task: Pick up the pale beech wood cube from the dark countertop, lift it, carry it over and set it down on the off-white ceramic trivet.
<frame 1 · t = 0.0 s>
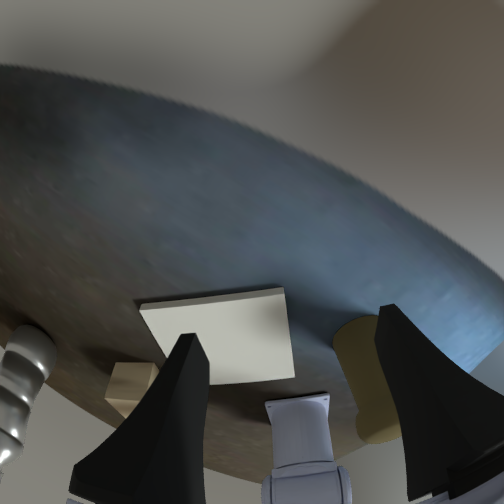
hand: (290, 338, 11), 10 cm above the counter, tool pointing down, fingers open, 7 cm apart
cube: (143, 374, 30), on the counter
trivet: (225, 343, 26), on the counter
plastic bottle: (40, 335, 28), on the counter
cork: (361, 335, 27), on the counter
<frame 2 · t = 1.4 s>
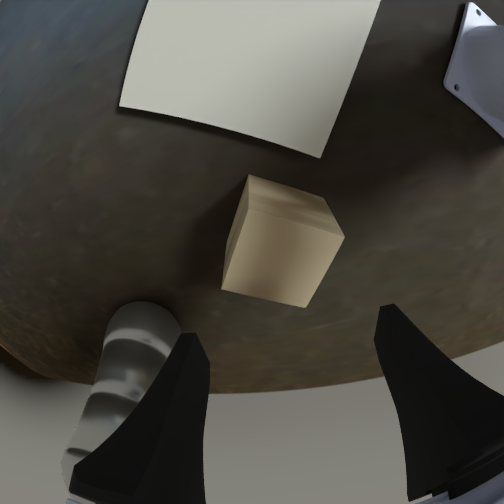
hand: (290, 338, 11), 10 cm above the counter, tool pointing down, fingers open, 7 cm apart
cube: (273, 219, 19), on the counter
trivet: (251, 29, 13), on the counter
plastic bottle: (150, 316, 24), on the counter
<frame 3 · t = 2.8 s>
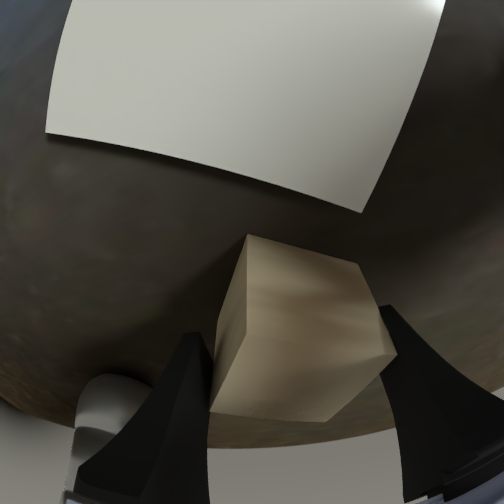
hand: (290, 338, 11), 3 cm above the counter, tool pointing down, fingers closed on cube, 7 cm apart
cube: (284, 294, 13), on the counter, touching gripper
plastic bottle: (130, 385, 18), on the counter
when the fingers open (10 cm above the counter, at t = 4.6 s): cube drops 6 cm, resting on trivet.
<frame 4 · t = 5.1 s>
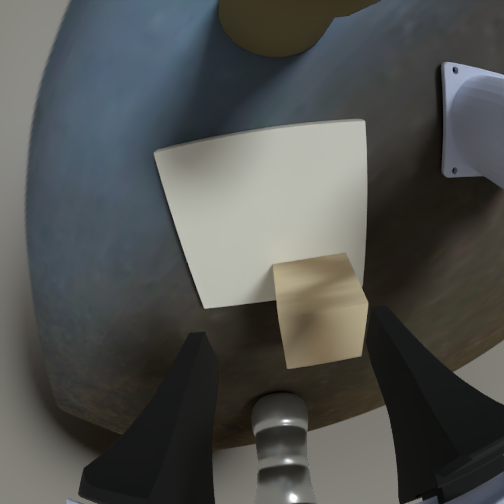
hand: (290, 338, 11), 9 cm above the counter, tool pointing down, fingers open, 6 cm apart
cube: (311, 286, 21), point 1 cm above the counter, touching trivet
trivet: (273, 221, 19), on the counter
plastic bottle: (278, 397, 32), on the counter
cork: (273, 10, 12), on the counter
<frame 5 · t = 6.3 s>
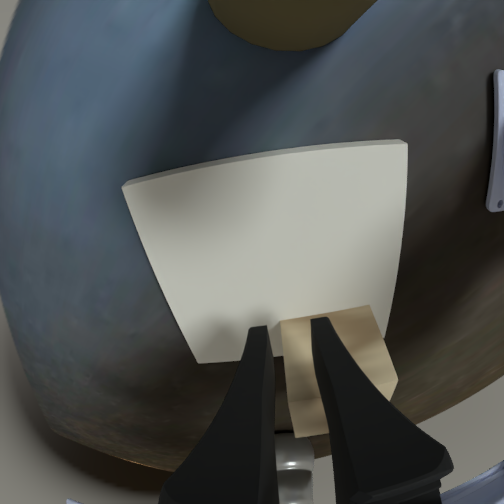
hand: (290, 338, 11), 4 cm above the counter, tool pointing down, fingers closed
cube: (326, 341, 17), point 1 cm above the counter, touching trivet
trivet: (281, 270, 15), on the counter
plastic bottle: (282, 434, 28), on the counter
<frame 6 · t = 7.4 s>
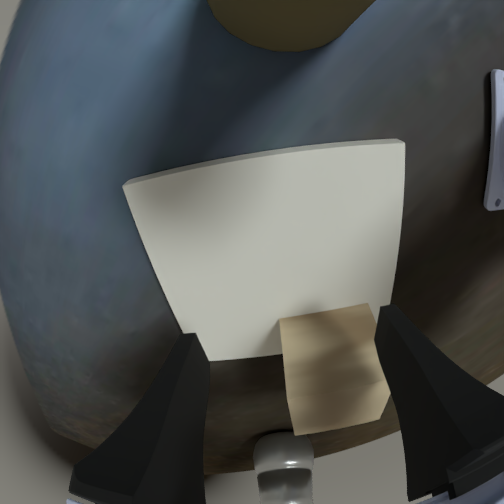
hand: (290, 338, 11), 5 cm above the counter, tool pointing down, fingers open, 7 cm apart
cube: (325, 339, 17), point 1 cm above the counter, touching trivet
trivet: (280, 268, 15), on the counter
plastic bottle: (282, 433, 28), on the counter
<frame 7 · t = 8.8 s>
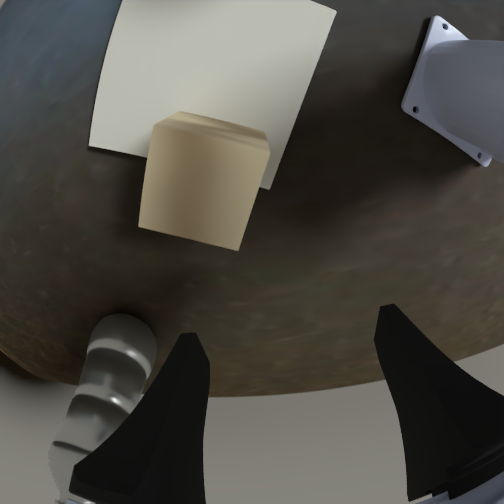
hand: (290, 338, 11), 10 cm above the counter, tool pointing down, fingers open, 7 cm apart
cube: (211, 160, 17), point 1 cm above the counter, touching trivet
trivet: (202, 68, 14), on the counter
plastic bottle: (130, 326, 26), on the counter
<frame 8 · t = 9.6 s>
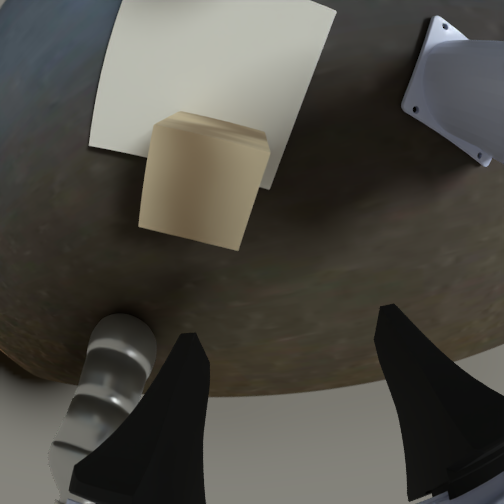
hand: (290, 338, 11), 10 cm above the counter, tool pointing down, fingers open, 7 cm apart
cube: (211, 160, 17), point 1 cm above the counter, touching trivet
trivet: (202, 68, 14), on the counter
plastic bottle: (130, 326, 26), on the counter
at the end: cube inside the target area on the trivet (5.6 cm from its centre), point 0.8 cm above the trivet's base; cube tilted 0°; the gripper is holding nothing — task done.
